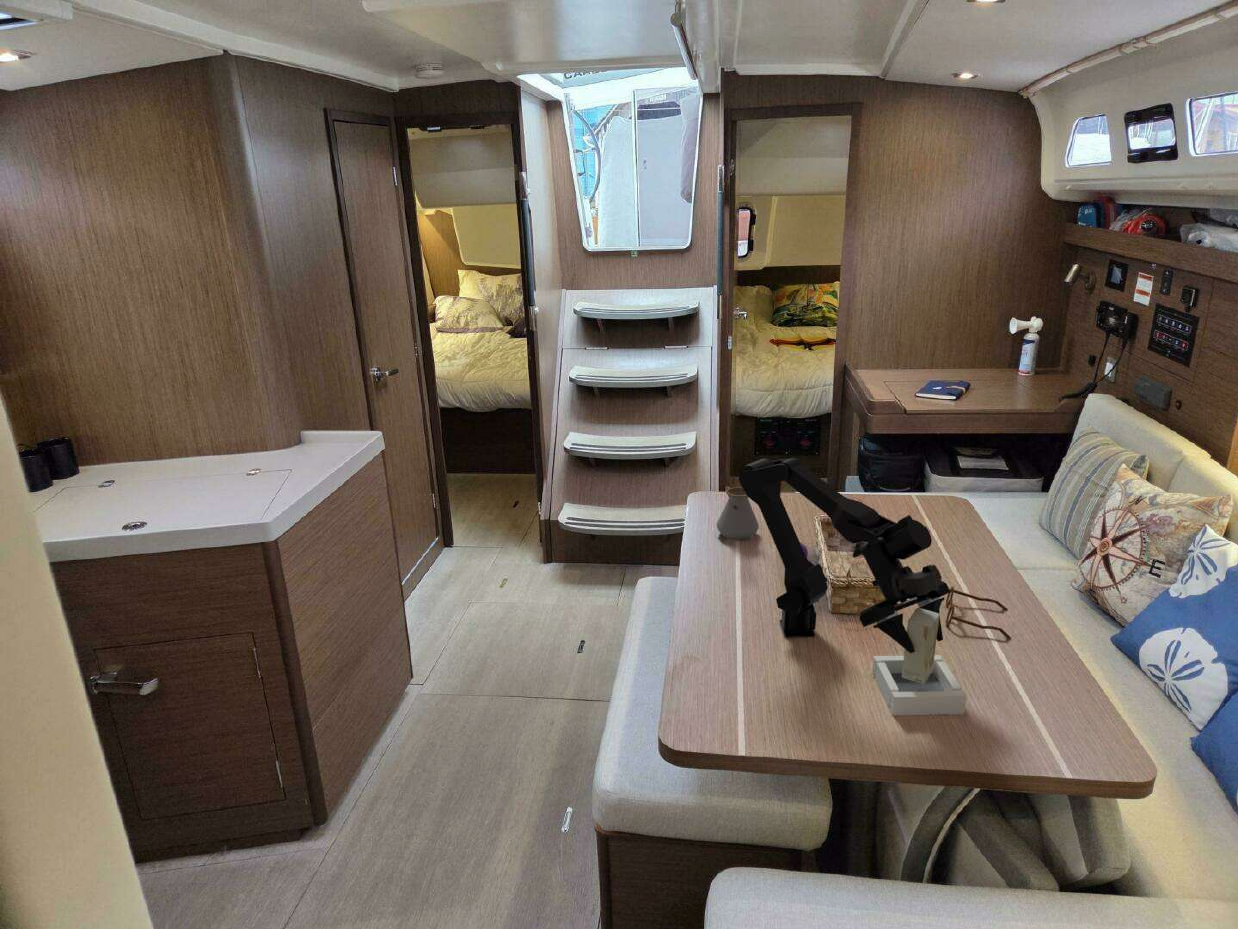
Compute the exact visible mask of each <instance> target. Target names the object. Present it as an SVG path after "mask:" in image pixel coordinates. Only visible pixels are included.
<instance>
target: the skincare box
mask: <svg viewBox="0 0 1238 929" xmlns="http://www.w3.org/2000/svg"><path fill="white" fill-rule="evenodd" d="M939 616H940V617H941V614H939V613H936V612H932V611H929V610H925V609H921V608H919V607H916V608H915V609H914V611H913V613H912V614H911V616H910V618H909V620H907V628H906V631H907V634H908V636H909V638H910V640H911V642H912V644H913V647H914V650H915V652H913V653H909V652H908V651H907V650H906V649H904V654H903V656H904V661H903V669H902V678H905V679H908V680H911V681H914V682H918V683H921V684H925V682H926V681H927V679H928V677H929V676H930V674H931V672H932V669H933V663H934V655H936V653H935V652H936V646H937V632H938V624H939Z"/></svg>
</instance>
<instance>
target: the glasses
mask: <svg viewBox="0 0 1238 929" xmlns="http://www.w3.org/2000/svg"><path fill="white" fill-rule="evenodd" d="M949 589H950V591H951V592H950V593H948V594H947V596H946V598H945V599H946V600H945V608H949V610H948V612H947V615H946V619H945V627H949V626H950V625H951V623H952V620H954V621H957V622H960V623H963V624H967V625H970V626H973V627H975V628H978V629H983V630H984V629H985V630H994V631H999V632H1000V633H1001V634H1002V635H1003V636H1004V637H1005V638H1006V639H1009V640H1012V637H1011V636H1010V635H1009V634H1008V633H1007V632H1006V631H1005V630H1004V629H1003V628H1002V627H998V626H994V625H993V626H992V625H983V624H979V623H976V622H973V621H969V620H967V619H964V618H960V617H957V616H954V612H955V605H954V604H953V601H954V599H953V597H954V593H955V594H956V595H961V596H963V597H966V598H969V599H972V600H976V601H978V602H979V601H980V602H990V603H992V604H996V605H997V606H998V607H999V608H1001V609H1002V610H1005V611H1008V610H1009V609H1008V608H1007V607H1006V606H1005V605H1003V604H1002V603H1001V602H1000V601H998V600H996V599H992V598H989V597H988V598H987V597H986V598H985V597H978V596H976V595H973V594H970V593H966V592H963V591H960V590H957V589H955V587H954V586H951V587H949Z"/></svg>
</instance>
